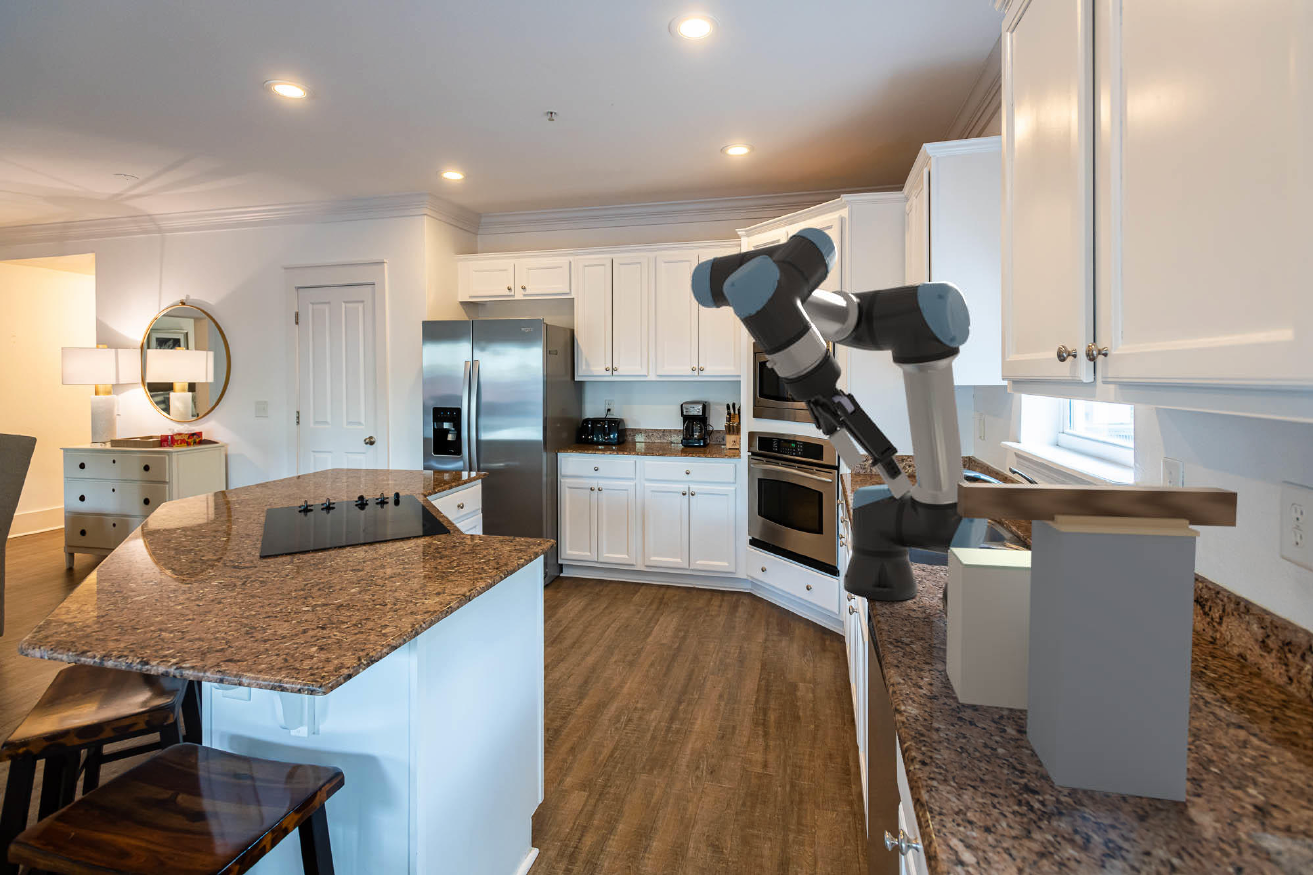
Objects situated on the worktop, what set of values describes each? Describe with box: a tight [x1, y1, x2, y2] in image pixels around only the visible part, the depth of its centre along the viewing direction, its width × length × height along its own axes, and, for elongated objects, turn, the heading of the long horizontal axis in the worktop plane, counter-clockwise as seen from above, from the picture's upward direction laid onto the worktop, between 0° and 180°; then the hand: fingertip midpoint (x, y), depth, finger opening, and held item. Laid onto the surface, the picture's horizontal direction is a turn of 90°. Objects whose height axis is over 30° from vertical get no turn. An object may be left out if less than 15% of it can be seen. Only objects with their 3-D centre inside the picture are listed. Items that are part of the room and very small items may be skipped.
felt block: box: [945, 548, 1031, 711], centre depth 89 cm, size 20×10×20 cm, turn 75°
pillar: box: [1026, 515, 1201, 803], centre depth 71 cm, size 12×10×29 cm
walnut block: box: [957, 482, 1238, 528], centre depth 71 cm, size 26×4×4 cm, turn 75°
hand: (878, 477), depth 93 cm, fingers open, 13 cm apart
